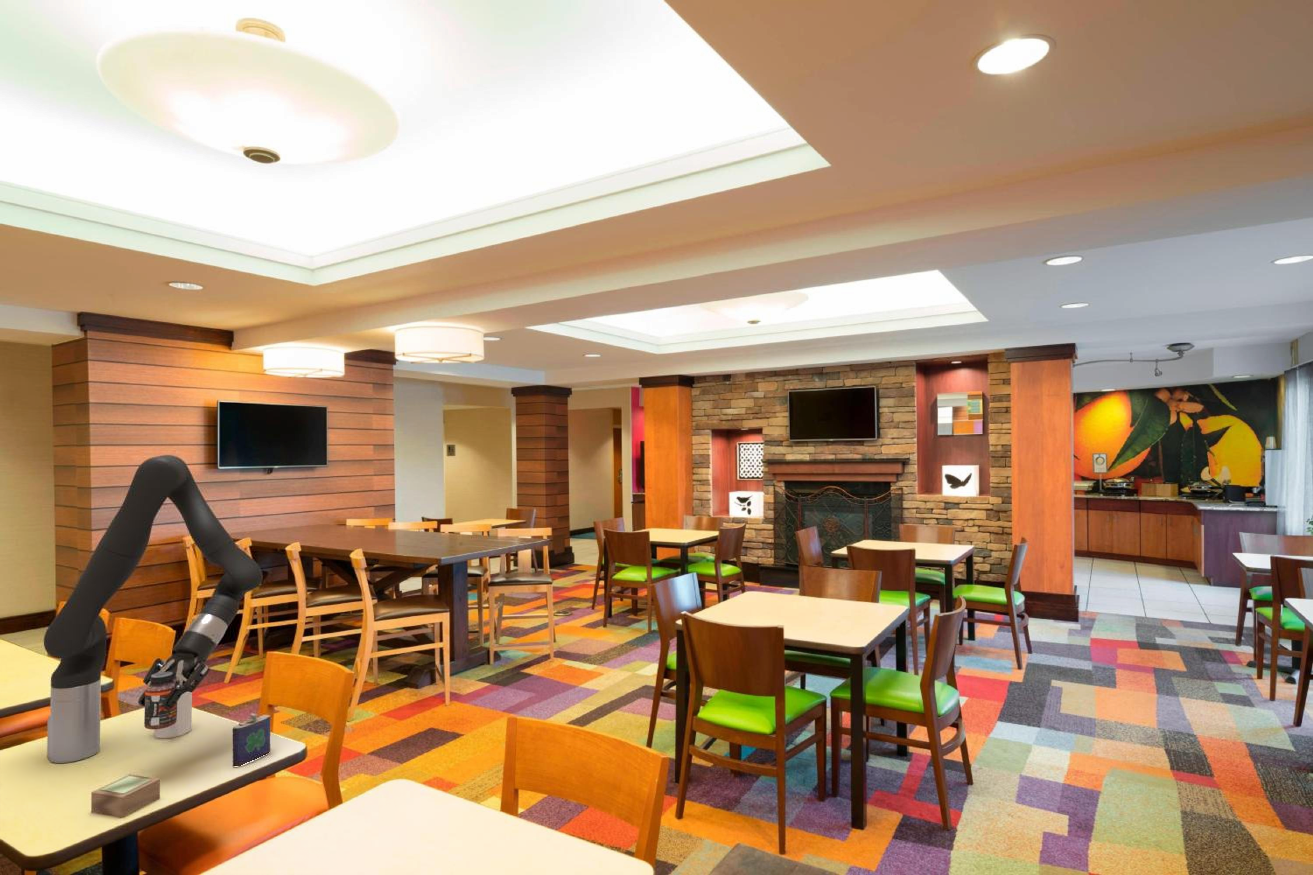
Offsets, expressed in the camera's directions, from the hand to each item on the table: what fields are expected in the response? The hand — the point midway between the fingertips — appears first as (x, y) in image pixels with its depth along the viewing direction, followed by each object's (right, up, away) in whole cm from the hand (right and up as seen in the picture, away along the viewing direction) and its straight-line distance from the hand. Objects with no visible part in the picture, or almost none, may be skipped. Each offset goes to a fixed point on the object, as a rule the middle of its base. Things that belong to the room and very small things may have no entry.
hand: (153, 706), depth 155 cm
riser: (+2, -16, -10) cm, 19 cm away
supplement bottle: (0, -5, +2) cm, 5 cm away
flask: (+15, -17, +11) cm, 25 cm away
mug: (-12, -17, +24) cm, 32 cm away
